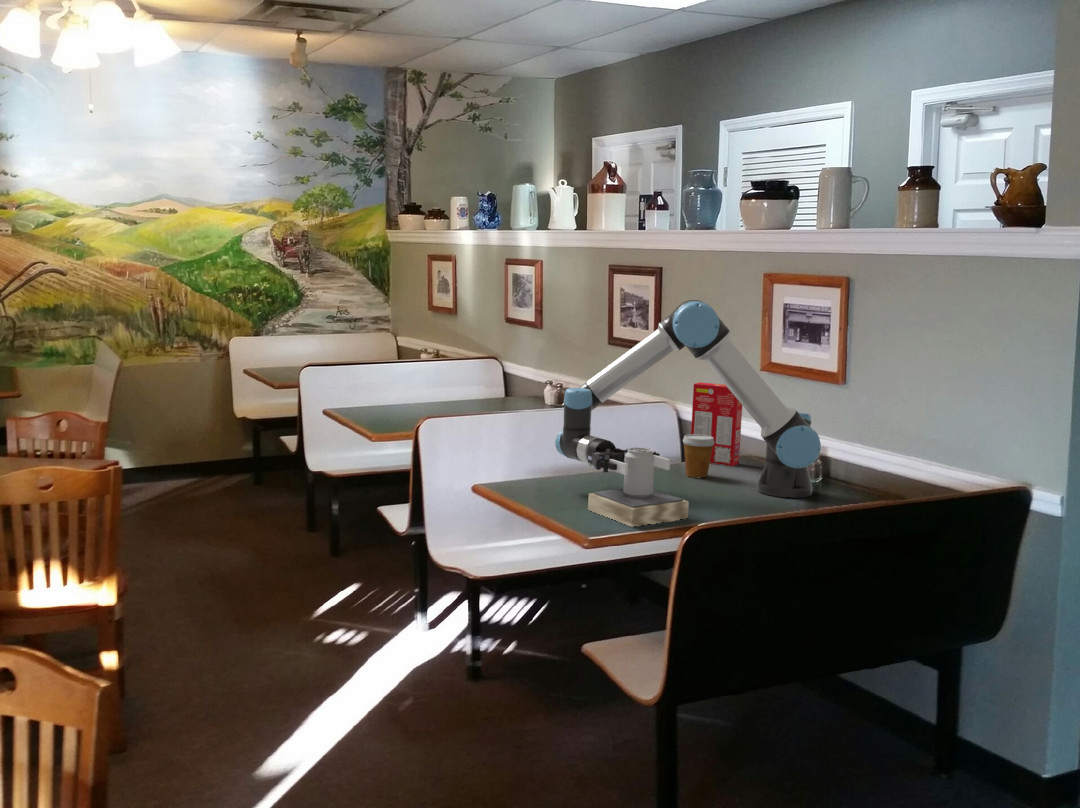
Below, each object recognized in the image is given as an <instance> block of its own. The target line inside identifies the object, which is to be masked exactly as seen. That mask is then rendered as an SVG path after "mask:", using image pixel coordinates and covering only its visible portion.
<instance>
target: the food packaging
mask: <svg viewBox="0 0 1080 808" xmlns="http://www.w3.org/2000/svg"><path fill="white" fill-rule="evenodd" d="M691 407H692V408H691V409H692V410H691V425H690V427H691V428H690V430H691V431H690V434H699V435H708V436H712V437H713V439H714V442H715V443H714V445H713V447H712V453H711V458H710V462H711V463H710V464H712V463H717V464H716V465H720V464H724V465H723V466H727V465H730V466H729V467H735V466H737V465H738V463H740V448H741V435H742V434H741V432H742V416H743V405H742V404H741V403H740V402H739V401H738V399H737V398H736V397H735V396H734V395H733V393H732V392H731V391H730V390H729V389H728V387H727V386H726V385H725V384H724V383H710V382H701V381H700V382H699V381H698V382H696V383H693V392H692V406H691Z"/></svg>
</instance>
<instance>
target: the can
mask: <svg viewBox="0 0 1080 808" xmlns="http://www.w3.org/2000/svg"><path fill="white" fill-rule="evenodd" d="M627 449H628V452H627V453H626V454H625V459H624V461H625V463H626V464H628V473H627V475H623V487H622V489H623V492H624V493H625V494H626V495H627V496H629V497H633V498H647V497H649V496H650V495H651V494H652V493H653V489H654V477H655V476H654V475H655V474H654V472H655V466H654V458H655V456H654V455H653V454H652V453H653V449H651V448H648V447H638V446H637V447H629V448H627Z"/></svg>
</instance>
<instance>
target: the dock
mask: <svg viewBox="0 0 1080 808" xmlns="http://www.w3.org/2000/svg"><path fill="white" fill-rule="evenodd" d="M587 500H588V501H587V502H588V503H587V511H588V510H590V511H592V512H591V513H593V512H595V513H597V514H596V515H598V514H600V515H599V516H601V515H603V516H605V517H604V518H606V517H608V518H610V519H609V520H611V519H613V520H612V521H614V520H616V521H618V522H617V523H619V522H621V523H623V524H622V525H624V524H626V525H625V526H627V525H628V527H629V526H631V527H630V528H634V527H633V526H637V527H642V526H641V525H644V526H648V525H647V524H651V525H656V523H657V524H662V522H664V523H669V522H677V521H681V520H680V519H684V520H687V519H686V518H688V519H689V503H690V502H689V500H685V499H683V498H681V497H679V496H675V495H672V494H669V493H666V492H663V491H659V490H656V489H654V488H653V493H652V494H651V495H650V496H649V497H647V498H633V497H629V496H627V495H626V494H625V493H624V492H623V488H617V489H609V490H602V491H595V492H591V493H590V492H589V493H588V498H587ZM590 511H589V512H590ZM595 513H594V514H595ZM603 516H602V517H603ZM608 518H607V519H608ZM676 520H677V521H676ZM616 521H615V522H616ZM621 523H620V524H621Z"/></svg>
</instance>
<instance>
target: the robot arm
mask: <svg viewBox="0 0 1080 808" xmlns="http://www.w3.org/2000/svg"><path fill="white" fill-rule="evenodd" d="M730 337H731V331H730V329H729V328H728V326H726V324H725V323H724V322H723V320H721V319H720V317H719V316H718V315H717V312H716V310H715V309H714V308H713V307H712V306H711V305H709V304H707V303H706V302H704V301H701V300H699V299H698V300H697V299H689V300H686V301H684V302H682V303H680V304H678V305H677V307H676V308H675V309H674V310H673V311H672V312H671V313H670V314H669V315H667V317H665V318H664V319H663V320H662V321H659V323H658V326H657V329H655V330H654V331H652V332H651V333H650V334H648V335H647V336H646V337H645V338H643V339H642V340H640V341H639V342H637V344H635V345H634V346H633V347H632V348H630V349H629V350H627V351H626V352H624V353H623V354H622V355H620V356H619V357H618V358H617V359H615V360H614V361H613V362H611V363H610V364H608V365H607V366H606V367H604V368H602V370H600V371H599V372H598V373H596V374H594V376H592V377H591V378H590V379H588V380H587V381H586V382H584V383H583V384H582V385H580V386H579V387H570V388H567V389H565V391H564V399H563V404H564V405H563V427H562V430H560V431H559V432H558V434H557V436H556V438H555V441H554V442H555V443H554V444H555V445H554V446H555V448H556V451H557V452H558V454H560V455H562V456H564V457H566V458H568V459H571V460H574V461H575V460H576V461H580V462H582V463H585V464H588V466H589V467H592V466H593V467H594V469H595V470H602V472H603V473H608V472H609V471H611V472H615V473H617V474H621V475H623V476H624V475H627V473H628V464H626V463H625V454H626V453H627V452H628V449H629V448H625V449H621V448H618V447H616V445H615V443H613V442H612V441H610V440H608V439H604V438H601V437H599V436H598V437H597V436H594V435H591V430H592V429H591V424H592V411H594V410H595V409H597V408H598V407H599V406H600V405H601V404H602V403H603V404H604V402H605V401H606V400H608V399H610V398H611V397H612V396H614V395H615V394H616V393H618V392H619V391H620V390H621V389H623V388H624V387H626V386H628V385H629V384H630V383H631V382H633V381H634V380H636V379H637V378H638V377H639V376H641V375H643V374H644V373H645V372H646V371H648V370H649V369H651V368H652V367H653V366H654V365H656V364H658V363H659V362H660V361H661V360H663V359H664V358H665V357H666V356H668V355H670V354H671V353H672V352H673V351H677V352H678V351H679V352H680V351H681V350H682V349H683V348H686V349H687V350H688V351H689V352H690V353H691V354H692V356H693V357H694V358H695V359H696V360H701V361H704V362H705V363H706V364H707V365H708V366H709V367H710V368H711V369H712V371H713V372H714V374H716V375H717V377H718V378H719V380H720V381H721V382H722V384H723V385H726V386H727V387H728V389H729V390H730V391H731V392H732V393H733V395H734V396H735V397H736V398H737V399H738V401H739V402H740V403H741V404H742V407H743V408H744V409H745V410H746V411H747V413H748V414H749V415H750V416H751V418H752V419H753V420H754V421H755V422H756V424H758V425H759V427H760V429H761V431H760V437H761V438H762V440H764V442H765V443H766V451H765V464H764V467H763V470H762V471H761V473H760V477H759V479H758V482H757V488H756V489H757V491H758V492H759V493H761V494H764V495H768V496H771V495H772V496H771V497H777V496H778V498H787V497H789V499H790V497H791V498H793V499H799V498H807V497H810V496H812V494H813V484H812V481H811V475H810V471H809V467H810V465H812V464H814V462H816V460H817V459H818V458H819V455H820V453H821V449H822V448H821V446H822V443H821V438H820V436H819V434H818V433H817V432H816V430H815V429H813V428H812V426H811V425H812V416H811V414H810V413H807V412H806V413H805V412H799V411H798V410H797V409H796V408H791V407H787V406H786V405H785V403H783V401H782V400H781V399H780V398H779V397H778V396H777V394H776V393H775V392H774V390H773V389H772V388H771V387H770V386H769V385H768V384H767V382H766V381H765V380H764V379H763V378H762V376H761V375H760V374H759V372H758V371H757V370H756V369H755V368H754V367H753V366H752V364H751V363H750V362H749V361H748V360H747V359H746V357H745V356H744V355H743V353H742V352H741V351H740V350H739V349H738V347H737V346H736V345H735V343H734V342H732V341H731V338H730ZM652 454H653V455H654V456H655V458H654V468H655V467H656V468H659V469H663V470H665V471H670V468H671V465H670V464H671V459H669V458H666V457H662V456H660V455H661V454H660V453H659V452H657V451H652ZM808 466H809V467H808Z"/></svg>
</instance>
